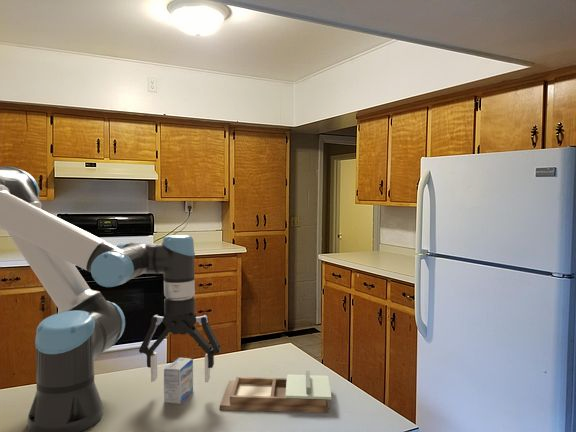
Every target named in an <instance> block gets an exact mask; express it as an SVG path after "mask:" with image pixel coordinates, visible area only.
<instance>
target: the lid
mask: <svg viewBox="0 0 576 432" xmlns="http://www.w3.org/2000/svg"><path fill="white" fill-rule="evenodd" d="M286 378H287V382H286V396H285V398H302V399H327V400H332V392H331V386H330V385H331V384H330V380H329V379H330V378H329V375H322V374H321V375H318V374H315V375H313V374H311V373H310V370H306V371H305V374H288V373H287V374H286Z"/></svg>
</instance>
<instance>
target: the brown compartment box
mask: <svg viewBox="0 0 576 432" xmlns="http://www.w3.org/2000/svg"><path fill="white" fill-rule="evenodd" d="M235 378H236V379H235V380H228V382H227V385H226V387H225V390H224V393H223V396H222V398H221V401H220V404H219V410H224V411H225V410H229V411H256V412H257V411H259V412H260V411H262V412H287V413H288V412H291V413H292V412H293V413H294V412H295V413H323V414H324V413H325V414H328V413H329V404H328V403H329V402H328V399H302V398H285V396H286V382H287V377H285V378H284V377H250V376H249V377H248V376H236V377H235Z"/></svg>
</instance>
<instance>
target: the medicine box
mask: <svg viewBox="0 0 576 432" xmlns="http://www.w3.org/2000/svg"><path fill="white" fill-rule="evenodd" d="M193 390H194V359H193V358H188V357H177V359H175V360H174V361H173V362H171V363H170V364H169V365H168V366H166V367H165V368H164V369H163V402H164V403H168V404H178V405H181V404H182V403H183V402H184V401H185V399H187V398H188V396H189V395H191V393H192V392H193Z"/></svg>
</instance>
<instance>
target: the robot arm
mask: <svg viewBox="0 0 576 432" xmlns="http://www.w3.org/2000/svg"><path fill="white" fill-rule="evenodd" d="M39 193H40V187H39V185H38V182H37V181H36V179H35V178H34V177H33V176H32V175H31V174H30V173H29V172H27V171H25V170H23V169H20V168H16V167H12V166H0V229H1V230H4V231H6V232H7V234H8V236H9V237H10V239H11V240H12V242H13V243H14V244H15V245H16V248H17V249H18V250H19V252H20V254H22V257H23V258H24V260H25V261H26V263H27V264H28V266H29V267H30V269H31V270H32V271H33V272H34V274H35V276H36V277H37V278H38V280H39V282H40V284H42V285H41V286H43V288H44V289H45V291H46V292H47V294H48V295H49V297H50V298H51V300H52V301H53V303H54V304H55V306H56V307H57V309H58V311H57V313H54V314H51V315H50V316H47V317H45V318H44V319H43V320H42V321H40V322H39V324H38V325H37V327H36V331H35V333H36V334H35V339H34V346H35V367H36V368H35V369H36V370H35V377H36V392H35V395H34V397H33V401H32V404H31V407H30V409H29V413H28V415H27V430H28V431H29V432H84V431H85V430H88V429H90V428H92V427H93V426H94V425H95V424H97V423H98V422H99V421H100V420H101V419H102V417H103V414H104V412H103V409H104V407H103V405H104V404H103V401H102V399H101V396H100V392H99V391H98V388H97V386H96V382H95V359H96V358H98V357H99V356H101V355H102V353H105V351H107V350H109V349H111V347H113V346H114V345H115V344H116V343H117V342H118V340H119V339H120V338H121V337H122V335H123V334H124V331H125V328H126V317H125V314H124V312H123V310H122V309H121V307H120V306H119V305H118V304H116V303H115V302H111V301H109V300H106V298H105V296H104V295H103V294H102V293H101V291H99V290H94V289H91V287H90V286H89V285H88V283H87V282H86V280H85V278H84V277H83V276H82V274H81V273H80V271H79V270H78V267H79V268H81V269H82V270H85V271H87V272H89V273H91V277H92V279H93V280H94V282H96V284H98V285H99V286H102V287H105V288H113V287H118V286H120V285H121V286H122V285H123V284H126V283H127V282H128V281H130V280H132V279H134V278H137V277H138V276H140V275H143V274H160V275H161V274H162V275H163V295H164V297H165V298H164V300H163V304H164V305H163V308H164V309H163V310H164V311H163V313H164V314H163V316H160V315H159V314H154V315H153V316H152V317H151V319H150V320H151V322H150V326H149V329H148V331H147V333H146V335H145V337H144V339H143V341H142V343H141V345H140V347H139V348H138V349H139V350H138V353H140V354H145V355H146V366H147V368H148V369H149V368H150V382H152V383H154V382H155V381H156V380H157V378H158V352H155V350H156V349H157V348H158V347H159V345H160V344H161V343H162V342H163V341H164V340H165V339H166V337H167V336H168V335H169V334H170V333H171V334H172V335H185V336H186V334H188V335H189V336H190V338H193V340H194V341H195V342H196V343H197V344H198V346H200V348H201V349H202V350H203V351H204V353H205V356H204V383H209V381H210V379H211V369H213V367H214V365H215V355H216V354H217V355H218V354H219V353H220V352H221V350H222V346H221V345H220V342H219V340H218V338H217V336H216V334H215V332H214V331H213V329H212V327H211V325H210V323H209V316H208V314H203V315H201V316H197V315H196V297H195V294H196V289H195V288H196V287H195V286H196V285H195V255H196V253H195V246H194V245H195V244H194V238H193V237H192V236H191V235H188V234H171V235H165V236H164V237H163V238H162V242H161V243H135V242H129V243H120V244H118V245H114V244H112V243H110V242H108V241H107V240H104V239H102V238H100V237H98V236H96V235H94V234H92V233H91V232H89V231H87V230H84V229H82V228H80V227H78V226H76V225H74V224H72V223H70V222H68V221H66V220H64V219H62V218H60V217H59V216H55V215H54V214H52V213H49V212H47V211H45V210H44V209H42V202H41V201H40V195H39ZM76 266H77V267H76ZM161 323H163V324H164V326H165V329H164V331H163V332H162V333H161V334H160V335H159V337H157V338H156V340H155V341H154V342H153V344H151V346H150V347H149V345H150V342H151V341H152V338H153V336H154V334H155V333H156V331H157V328H158V326H160V325H161ZM196 323H198V324H199V326H201V327H202V330H203V332H204V335H205V336H206V338H207V339H208V341H207V339H206V338H205V337H204V336H203V335H202V333H201V332H199V330H198V328H197V327H196V326H195V325H196Z"/></svg>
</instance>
